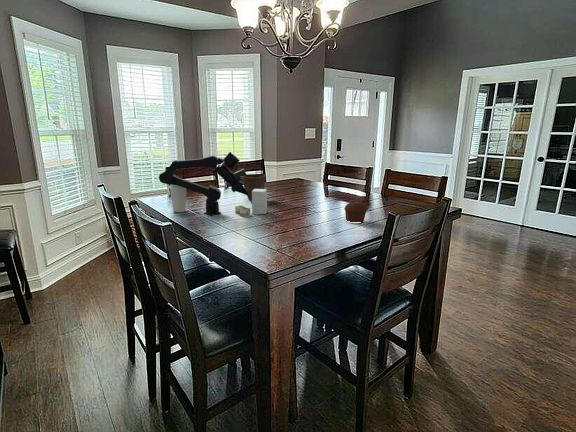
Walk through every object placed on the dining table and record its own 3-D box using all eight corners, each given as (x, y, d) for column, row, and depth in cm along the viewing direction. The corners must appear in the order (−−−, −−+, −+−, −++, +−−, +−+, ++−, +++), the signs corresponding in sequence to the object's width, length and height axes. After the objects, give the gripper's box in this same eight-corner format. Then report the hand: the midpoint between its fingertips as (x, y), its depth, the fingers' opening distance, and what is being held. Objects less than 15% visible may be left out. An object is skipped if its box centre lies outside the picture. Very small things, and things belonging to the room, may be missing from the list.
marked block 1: (239, 215, 182) (238, 207, 180) (235, 213, 185) (235, 206, 184) (245, 214, 184) (245, 206, 183) (241, 212, 187) (241, 205, 186)
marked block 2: (246, 217, 177) (246, 209, 176) (240, 216, 179) (239, 208, 178) (250, 215, 181) (250, 207, 180) (243, 214, 183) (243, 207, 181)
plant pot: (238, 201, 212) (238, 176, 208) (248, 197, 226) (247, 173, 222) (260, 203, 208) (260, 177, 204) (269, 198, 222) (269, 174, 218)
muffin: (349, 225, 166) (350, 205, 163) (339, 219, 176) (340, 200, 173) (370, 223, 169) (372, 204, 166) (360, 218, 179) (361, 199, 177)
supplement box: (267, 211, 190) (267, 188, 187) (265, 214, 183) (265, 191, 180) (254, 210, 191) (254, 188, 188) (251, 213, 184) (251, 191, 181)
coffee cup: (166, 211, 185) (164, 184, 182) (179, 208, 193) (178, 182, 190) (179, 213, 180) (177, 185, 177) (192, 210, 189) (190, 183, 186)
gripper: (237, 165, 169) (259, 187, 174) (236, 161, 187) (257, 181, 192) (222, 181, 170) (244, 202, 175) (222, 176, 188) (243, 195, 193)
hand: (247, 194), depth 183 cm, fingers closed
